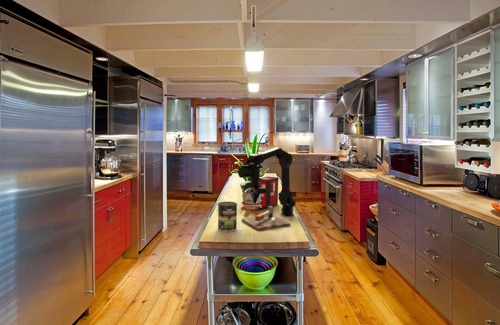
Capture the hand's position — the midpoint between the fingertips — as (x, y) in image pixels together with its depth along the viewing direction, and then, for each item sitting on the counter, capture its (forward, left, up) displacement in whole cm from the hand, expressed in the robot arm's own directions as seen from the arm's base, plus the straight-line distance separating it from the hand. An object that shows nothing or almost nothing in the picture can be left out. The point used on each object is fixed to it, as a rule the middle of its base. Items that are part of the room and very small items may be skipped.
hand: (254, 203), depth 180 cm
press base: (-6, +3, -12) cm, 14 cm away
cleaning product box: (-28, -33, -12) cm, 45 cm away
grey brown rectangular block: (-7, +10, -10) cm, 16 cm away
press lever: (-7, +1, -10) cm, 12 cm away
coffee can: (+18, +3, -12) cm, 22 cm away
